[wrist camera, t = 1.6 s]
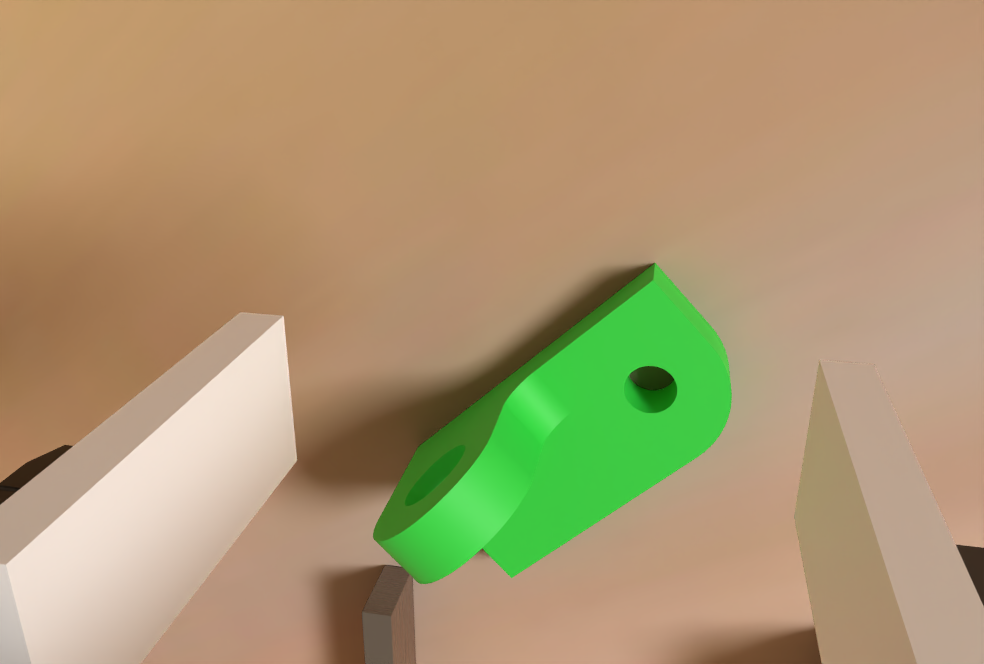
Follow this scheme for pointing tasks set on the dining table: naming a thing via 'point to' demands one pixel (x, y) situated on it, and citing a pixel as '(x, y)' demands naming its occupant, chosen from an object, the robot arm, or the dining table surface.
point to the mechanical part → (563, 437)
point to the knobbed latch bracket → (390, 619)
